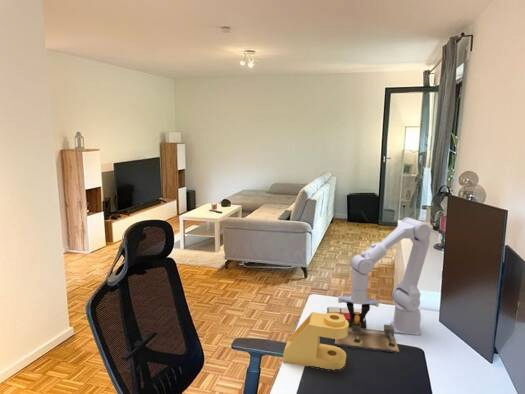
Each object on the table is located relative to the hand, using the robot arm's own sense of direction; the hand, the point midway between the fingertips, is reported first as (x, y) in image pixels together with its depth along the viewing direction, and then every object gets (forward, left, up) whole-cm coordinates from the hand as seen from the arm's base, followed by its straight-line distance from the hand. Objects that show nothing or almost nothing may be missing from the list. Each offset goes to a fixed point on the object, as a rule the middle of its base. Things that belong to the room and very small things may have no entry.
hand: (356, 321), depth 142 cm
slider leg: (0, +3, -4) cm, 5 cm away
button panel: (+3, -11, -6) cm, 13 cm away
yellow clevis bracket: (+15, +19, -6) cm, 25 cm away
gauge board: (-3, +3, -5) cm, 7 cm away
